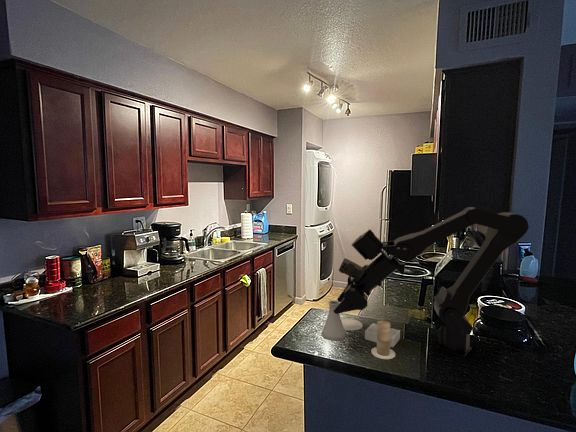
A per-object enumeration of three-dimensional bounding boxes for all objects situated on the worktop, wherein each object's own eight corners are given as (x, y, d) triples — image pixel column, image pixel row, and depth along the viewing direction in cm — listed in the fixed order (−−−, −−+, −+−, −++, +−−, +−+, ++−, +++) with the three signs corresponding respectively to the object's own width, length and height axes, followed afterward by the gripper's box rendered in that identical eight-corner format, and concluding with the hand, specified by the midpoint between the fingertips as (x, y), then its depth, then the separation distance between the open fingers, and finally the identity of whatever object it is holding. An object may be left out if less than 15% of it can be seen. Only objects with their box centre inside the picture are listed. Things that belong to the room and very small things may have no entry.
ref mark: (399, 353, 80) (399, 352, 80) (387, 362, 76) (387, 361, 76) (378, 344, 84) (378, 344, 84) (366, 352, 80) (366, 352, 80)
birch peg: (391, 352, 80) (392, 323, 79) (385, 357, 78) (386, 326, 77) (380, 348, 82) (381, 319, 82) (374, 352, 80) (374, 322, 80)
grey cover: (400, 339, 87) (400, 330, 87) (393, 347, 83) (393, 338, 82) (372, 331, 92) (373, 322, 92) (364, 339, 88) (364, 330, 87)
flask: (346, 342, 86) (346, 307, 85) (320, 340, 87) (320, 305, 87) (346, 330, 93) (346, 298, 92) (322, 328, 94) (322, 297, 94)
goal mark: (367, 324, 97) (367, 324, 97) (352, 333, 91) (352, 332, 91) (346, 317, 103) (346, 316, 103) (331, 324, 97) (331, 324, 97)
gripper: (357, 244, 95) (322, 276, 99) (354, 257, 77) (311, 296, 81) (383, 271, 94) (346, 302, 98) (386, 291, 76) (340, 328, 80)
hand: (336, 306), depth 89 cm, fingers open, 9 cm apart
